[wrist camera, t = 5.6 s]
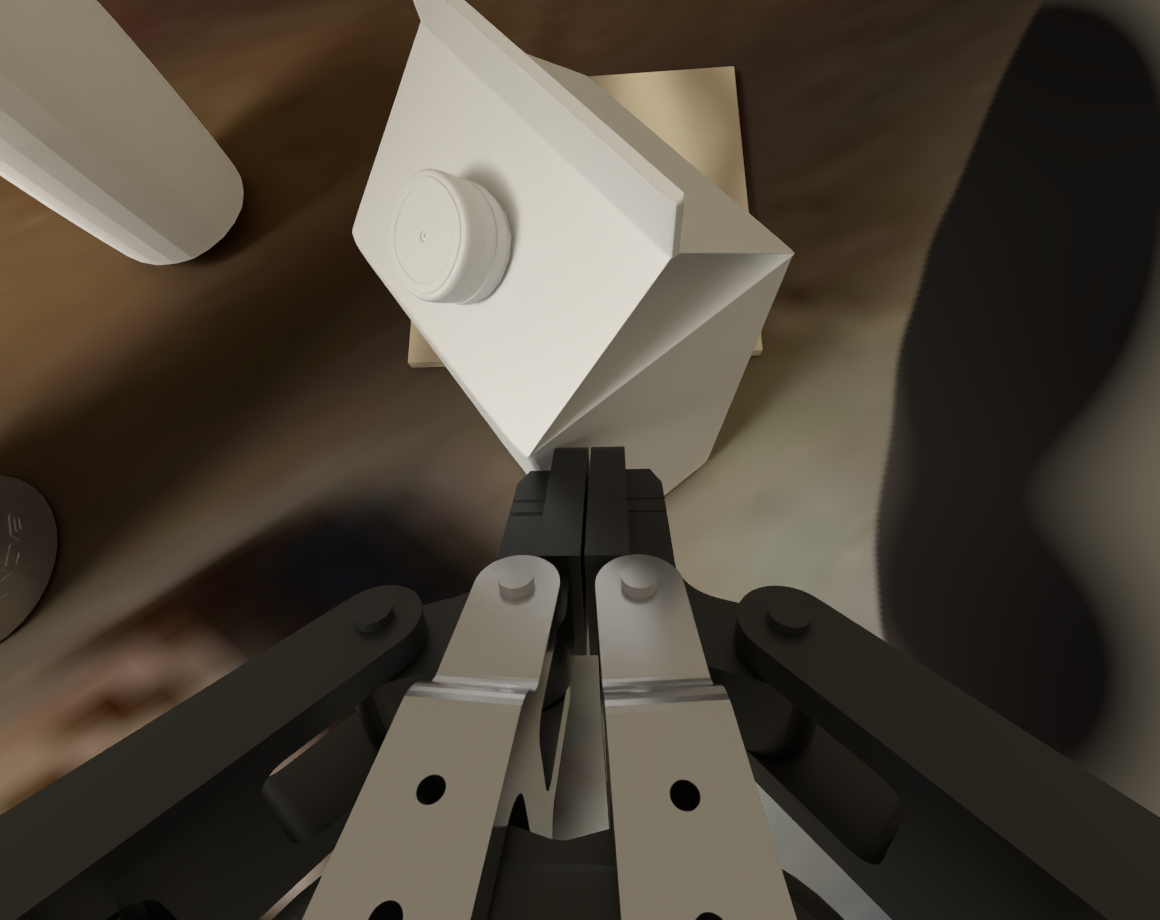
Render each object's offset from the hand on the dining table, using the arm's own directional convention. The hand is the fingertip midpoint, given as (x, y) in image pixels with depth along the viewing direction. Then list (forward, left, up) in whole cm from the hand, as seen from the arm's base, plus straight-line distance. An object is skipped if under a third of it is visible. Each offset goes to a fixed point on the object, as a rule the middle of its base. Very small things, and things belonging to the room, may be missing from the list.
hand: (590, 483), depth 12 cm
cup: (-24, +19, -14) cm, 34 cm away
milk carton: (0, +4, -14) cm, 15 cm away
